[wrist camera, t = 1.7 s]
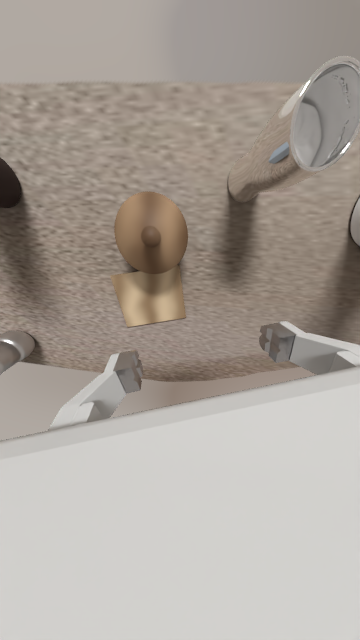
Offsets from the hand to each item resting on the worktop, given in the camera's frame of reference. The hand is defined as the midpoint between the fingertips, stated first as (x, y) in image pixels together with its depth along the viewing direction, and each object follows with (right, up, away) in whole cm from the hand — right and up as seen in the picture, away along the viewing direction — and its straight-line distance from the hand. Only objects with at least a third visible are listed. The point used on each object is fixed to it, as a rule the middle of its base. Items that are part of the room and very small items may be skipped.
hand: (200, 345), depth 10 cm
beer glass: (+10, +26, +16) cm, 32 cm away
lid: (-6, +15, +14) cm, 21 cm away
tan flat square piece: (-8, +7, +24) cm, 26 cm away
